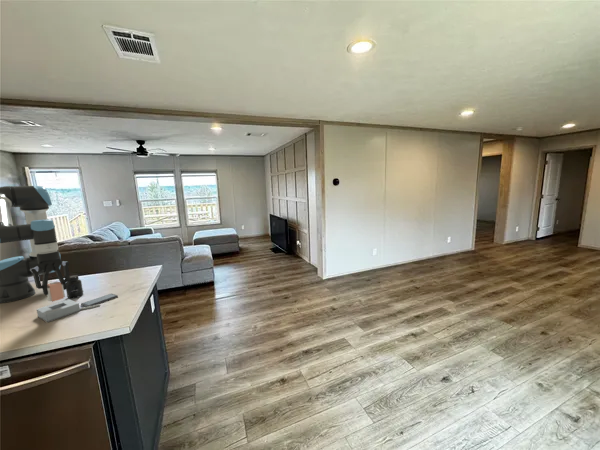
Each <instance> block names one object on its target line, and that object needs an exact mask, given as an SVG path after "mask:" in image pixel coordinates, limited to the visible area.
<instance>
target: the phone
mask: <svg viewBox="0 0 600 450" xmlns="http://www.w3.org/2000/svg"><path fill="white" fill-rule="evenodd" d="M116 298H119V296H118V295H117V294H115V293H108V294H106V295H103V296H99V297H96V298H94V299H91V300H88V301H84V302H81V303H80V306H82V307H83V308H84V307H88V306H93V305H98V304H103V303H105V302H108V301H110V300H111V301H112V300H114V299H116Z"/></svg>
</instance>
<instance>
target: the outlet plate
mask: <svg viewBox="0 0 600 450" xmlns="http://www.w3.org/2000/svg"><path fill="white" fill-rule="evenodd" d="M80 308H81V307H80V302H77V301H74V300H72V299H70V298H67V299H63V300H61V301H58V302H55V303H51V304H49V305H45V306H42V307H39V308H36V313H37V317H38V318H39V319H41V320H42V321H44V322H45V323H50V322H52V321H54V320H58V319H61V318H64V317H67V316H69V315H72V314H75V313H78V312H81V310H80Z"/></svg>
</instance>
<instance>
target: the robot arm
mask: <svg viewBox="0 0 600 450" xmlns="http://www.w3.org/2000/svg"><path fill="white" fill-rule="evenodd" d="M52 205H53V204H52V200H51V197H50V194H49V192H48V189H47V188H46V187H44V186H41V185H21V186H20V185H19V186H18V185H17V186H16V185H12V186H10V185H9V186H8V185H5V186H0V244H4V243H11V242H23V241H28V240H29V242H30V246H31V247H30V248H31V252H30V253H29V256H28V257H24V256H23V255H19V256H13V257H10V258H9V257H8V258H5V259H2V260H1V259H0V304H1V303H2V304H3V303H10V301H11V302H15V301H19V300H23V299H26V298H30V297H31V296H34V295H35V294H36V289H39V290H41V289H42V294H43V295H44V296H46V297H47V301H48V302H52V297H51V292H50V288H49V287H47V285H48V284H49V275H50V274H51V273H55V274H56V277H57V279H58V282H60V283H61V285H62V291H63V296H64V298H65V297H66V294H65V291H66V282H68V281H70V276H71V275H70V271H69V270H70V269H69V266H70V262H69V261H64V260H63V261H62V259H61V253H60V251H59V246H58V240H57V235H56V228H55V227H56V225H55V224H54V219H50V218H49V219H48V216H47V215H48V214H47V211H48V210H49V209H50V206H52ZM12 208H19V211H21V212H23V213H24V217H25V221H26V224H16V225H14V223H13V219H12V213H11V209H12ZM61 266H62V267H63V274H62V272H61ZM41 275H42V281H41V280H40V276H41ZM30 277H31V278H32V277H33V280H34V285H35V287H36V289H35V288H34V286H33V285H32V284H31V283H30V281H29V278H30ZM41 282H42V283H41Z"/></svg>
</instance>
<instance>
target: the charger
mask: <svg viewBox="0 0 600 450" xmlns="http://www.w3.org/2000/svg"><path fill="white" fill-rule="evenodd" d="M47 287H49V288H50V292H51V297H52V301H51V302H56V301H59V300H64V298H65V297H64V296H63V291H62V285H61V283H60V281H57V280H56V281H53V282H50V283H48V285H47Z"/></svg>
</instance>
